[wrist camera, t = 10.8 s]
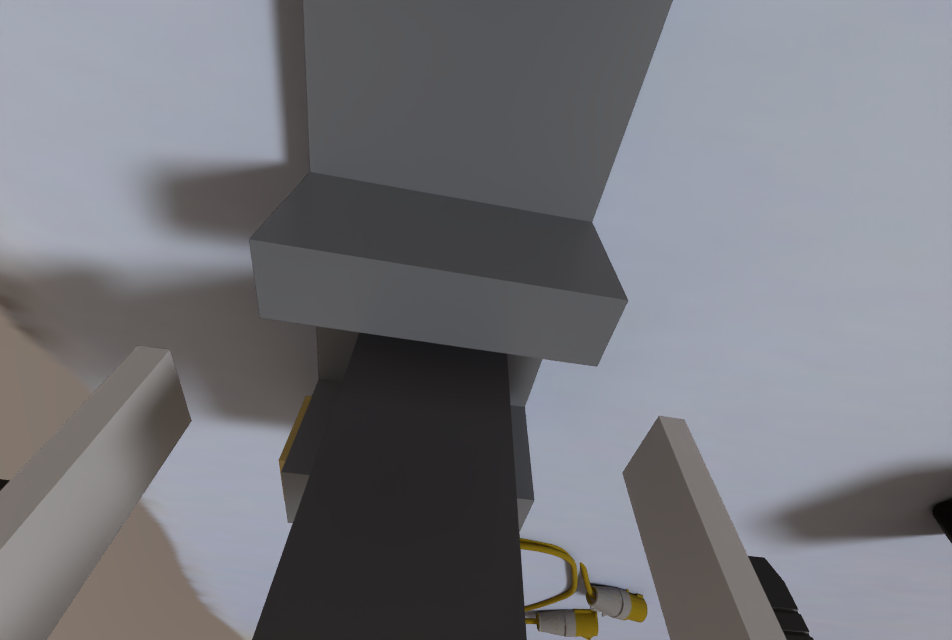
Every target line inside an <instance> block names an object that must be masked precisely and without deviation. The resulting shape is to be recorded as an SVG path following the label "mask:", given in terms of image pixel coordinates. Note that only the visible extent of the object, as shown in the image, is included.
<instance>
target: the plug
mask: <svg viewBox="0 0 952 640" xmlns="http://www.w3.org/2000/svg"><path fill="white" fill-rule="evenodd" d="M252 640H527V638H526V623H525V609H524V594H523V580H522V565H521V550H520V536H519V521H518V507H517V492H516V477H515V463H514V448H513V434H512V419H511V405H510V390H509V375H508V361H507V354H506V353H499V352H492V351H485V350H478V349H471V348H464V347H457V346H451V345H444V344H437V343H430V342H423V341H416V340H409V339H402V338H395V337H388V336H381V335H374V334H368V333H361V332H359V335H358V338H357V341H356V344H355V347H354V350H353V352H352V355H351V358H350V361H349V364H348V367H347V370H346V372H345V375H344V378H343V381H342V384H341V387H340V390H339V392H338V395H337V398H336V401H335V404H334V407H333V410H332V413H331V415H330V418H329V421H328V424H327V427H326V430H325V433H324V435H323V438H322V441H321V444H320V447H319V450H318V453H317V456H316V458H315V461H314V464H313V467H312V470H311V473H310V476H309V478H308V481H307V484H306V487H305V490H304V493H303V496H302V498H301V501H300V504H299V507H298V510H297V513H296V516H295V519H294V521H293V524H292V527H291V530H290V533H289V536H288V539H287V541H286V544H285V547H284V550H283V553H282V556H281V559H280V562H279V564H278V567H277V570H276V573H275V576H274V579H273V582H272V584H271V587H270V590H269V593H268V596H267V599H266V602H265V605H264V607H263V610H262V613H261V616H260V619H259V622H258V625H257V627H256V630H255V633H254V636H253V639H252Z"/></svg>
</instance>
